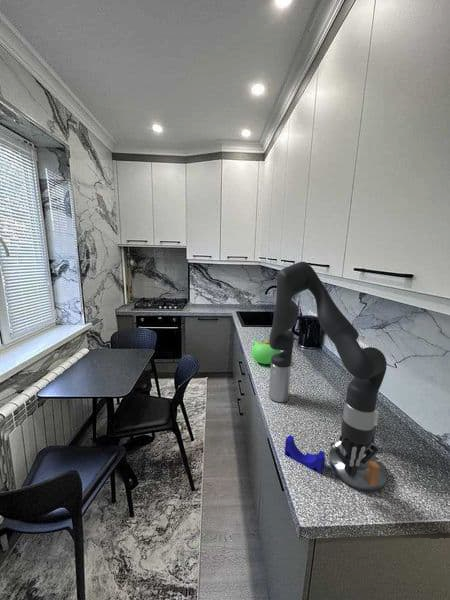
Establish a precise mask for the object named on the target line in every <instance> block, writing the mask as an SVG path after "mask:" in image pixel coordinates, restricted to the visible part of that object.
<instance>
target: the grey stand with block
mask: <svg viewBox="0 0 450 600" xmlns="http://www.w3.org/2000/svg"><path fill="white" fill-rule="evenodd" d="M379 417H380V411H379V410H378V409H376V408H375V422H374V429H373V435H372V440H371V442H372V443H373V444H374V445H375V446H376V447H377V448H378V451H377V452H376V453H375V454H383V453H384V451H383V450H382V449H381V448H380V447H379V445H377V443H375V438H376V433H377V432H376V431H377V426H378V423H379Z"/></svg>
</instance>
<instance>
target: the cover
mask: <svg viewBox="0 0 450 600" xmlns="http://www.w3.org/2000/svg"><path fill="white" fill-rule="evenodd" d="M343 455H344V456H345V451H344V453H343ZM365 456H366V454H364V455H363V458H364V457H365ZM368 462H369V460H368V461H367V462H366V463H365V464H362V463H360V465H359V466H358V469H357V470H365V469H367V467H368Z"/></svg>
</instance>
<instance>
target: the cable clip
mask: <svg viewBox="0 0 450 600" xmlns="http://www.w3.org/2000/svg"><path fill="white" fill-rule="evenodd" d="M294 438H295V437H294V436H293V435H291V434H288V436H287V437H286V438H285V443H284V455H285V456H286V457H288V458H290V459H291V460H292V461H295V462H297V463H299V464H301V465H302V466H304V467H306V468H308V469H309V470H312V471H314V472H315V471H316V469H317V471H316V473H317V474H319V475H321V473H322V471H323V469H324V467H325V466H326V457H325V454H326V452H324V451H322V450H319V451H318V453H316V454H315V453H313V454H312V453H310V452H306V454H304V453H303V451H302V452H301V450H300V449H299V448H298V446H297V444H296V442H295V439H294Z"/></svg>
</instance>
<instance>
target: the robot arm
mask: <svg viewBox="0 0 450 600" xmlns="http://www.w3.org/2000/svg"><path fill="white" fill-rule="evenodd" d="M306 290H309V292H310V293H311V294H312V295H313V298H314V299H315V305H316V313H317V320H318V321H317V322H318V323H319V325H320V328H321V330H323V332H324V334H326V336H327V337H328V338H329V340H330V341H331V342H332V344H333V345H334V346H335V349H336V351H337V354H338V357H339V358H340V360H341V362H342V365H343V366H344V368H345V369H346V370H347V372H348V373H349V374H350V375H351V376H353V378H352V380H350V382H349V383H348V385H347V387H346V388H347V390H346V395H345V396H346V397H345V402H344V406H343V409H342V418H341V427H340V429H341V430H340V433H341V435H340V436H339V438H338V441H337V442H336V443H335V442H331V443H330V446H331V448H333V450H334V451H335V453H336V454H337V455H338V457H339V458H340V459H341V461H342V462H343V463H344V464H345V471H346V473H347V474H348V475H349V477H355V474H357V469H358V466H359V465H360V463H362V464H365V463H366V462H367V461H368V460H369V459H370V458H371V457H372V456H373V455H375V454H377V453H376V452H377V451H378V448H377V447H376V446H375V445H374V444H373V443H372V442H371V440H372V435H373V429H374V422H375V409H376V408H377V407H376V406H377V401H378V394H379V390H380V389H381V387H382V383H383V381H384V377H385V374H386V372H387V366H388V365H387V364H388V363H387V358H386V356H385V354H384V353H383V352H382V351H381V350H380V349H378V348H377V347H372V346H369V347H364V348H362V347H361V346H360V344H359V342H358V341H357V340H358V339H359V336H360V334H359V332H358V330H357V329H356V328H355V327H354V325H353V324H352V323H351V322H350V321H349V320H348V318H347V317H346V316H345V315H344V314H343V313H342V311H341V310H340V309H339V306H337V305H336V303H335V302H334V300H333V298H332V297H331V295H330V294H329V292H328V290H327V288H326V286H325V285H324V283H323V282H322V280H321V278H320V277H319V276H318V273H317V272H316V271H315V270H314V268H313V266H311V265H310V264H309V263H308V262H306V261H299V262H297V263H293V264H291V265H288V266H285V267H284V268H281V269H280V270H279V271H278V273H277V276H276V295H275V296H276V297H275V298H276V299H275V305H274V311H273V319H272V326H271V330H270V333H269V337H268V341H269V344H270V347H271V348H272V349H275V350H280V352H281V353H278V354H275V355H273V356H272V358H271V364H270V372H269V386H268V387H269V389H268V397H269V398H270V399H271V401H274V402H278V403H285V402H287V401H289V394H290V393H289V391H290V384H291V383H290V382H291V370H292V369H291V368H292V356H293V350H294V349H293V348H294V342H295V335H294V332H293V331H292V330H291V329H293V328H294V327H295V325H296V324H297V321H298V318H299V313H300V309H299V307H298V304H297V303H296V302H295V301H294V300H293V297H294V296H296V295H297V294H299V293H301V292H305V291H306ZM342 446H343V448H344V451H345V456H344V455H343V454H342V453H341V452H342ZM364 454H366V456H365V457H364V458H363V455H364Z"/></svg>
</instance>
